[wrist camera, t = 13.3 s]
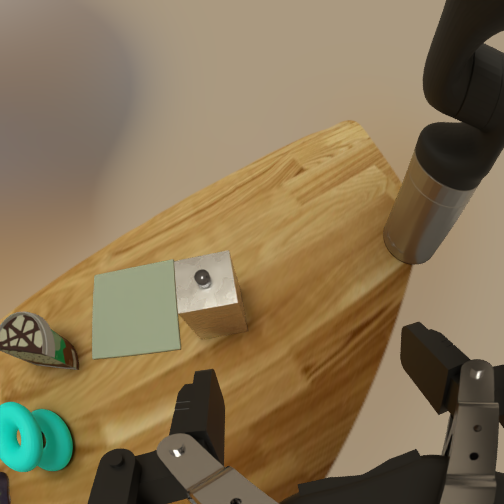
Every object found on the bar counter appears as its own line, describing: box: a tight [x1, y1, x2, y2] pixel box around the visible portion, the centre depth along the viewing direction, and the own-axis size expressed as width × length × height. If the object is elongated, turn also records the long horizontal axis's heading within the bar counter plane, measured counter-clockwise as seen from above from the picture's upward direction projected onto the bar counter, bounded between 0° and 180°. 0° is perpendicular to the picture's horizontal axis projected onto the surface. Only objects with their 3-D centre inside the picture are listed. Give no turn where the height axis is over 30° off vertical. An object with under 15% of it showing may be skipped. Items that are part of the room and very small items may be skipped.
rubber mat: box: [92, 259, 181, 359], centre depth 44 cm, size 14×14×1 cm
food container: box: [0, 312, 79, 370], centre depth 38 cm, size 12×6×10 cm, turn 93°
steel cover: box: [174, 250, 248, 339], centre depth 38 cm, size 6×6×12 cm
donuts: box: [0, 402, 73, 472], centre depth 30 cm, size 10×10×10 cm
